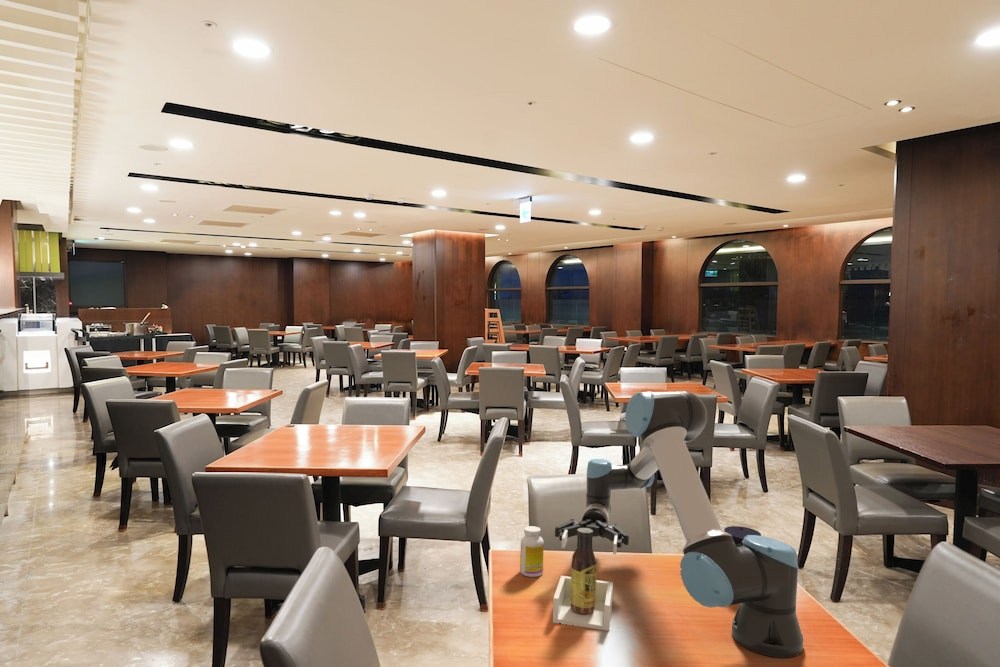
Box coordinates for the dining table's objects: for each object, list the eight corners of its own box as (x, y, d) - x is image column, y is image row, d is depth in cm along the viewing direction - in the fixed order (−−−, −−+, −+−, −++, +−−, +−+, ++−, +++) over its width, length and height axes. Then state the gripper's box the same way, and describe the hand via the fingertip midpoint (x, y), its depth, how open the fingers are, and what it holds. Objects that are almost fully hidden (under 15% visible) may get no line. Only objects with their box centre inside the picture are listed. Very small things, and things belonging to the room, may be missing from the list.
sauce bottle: (587, 618, 145) (589, 537, 144) (565, 610, 148) (566, 531, 148) (600, 608, 150) (601, 529, 149) (578, 600, 154) (579, 524, 153)
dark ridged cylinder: (761, 595, 162) (763, 540, 161) (722, 589, 165) (724, 535, 164) (758, 580, 171) (759, 528, 171) (721, 574, 174) (723, 524, 174)
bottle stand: (560, 598, 157) (561, 575, 157) (612, 605, 154) (612, 582, 154) (552, 622, 144) (553, 598, 144) (609, 630, 141) (609, 605, 141)
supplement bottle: (547, 574, 171) (548, 530, 171) (529, 579, 168) (530, 534, 167) (533, 566, 177) (534, 523, 176) (515, 571, 173) (516, 527, 173)
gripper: (637, 537, 176) (636, 565, 155) (553, 528, 182) (541, 554, 161) (638, 512, 175) (637, 537, 155) (554, 503, 181) (542, 526, 161)
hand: (588, 546), depth 158 cm, fingers open, 13 cm apart
